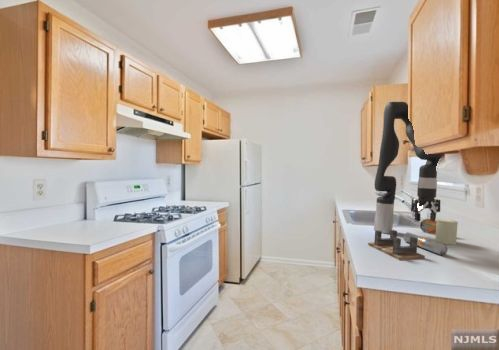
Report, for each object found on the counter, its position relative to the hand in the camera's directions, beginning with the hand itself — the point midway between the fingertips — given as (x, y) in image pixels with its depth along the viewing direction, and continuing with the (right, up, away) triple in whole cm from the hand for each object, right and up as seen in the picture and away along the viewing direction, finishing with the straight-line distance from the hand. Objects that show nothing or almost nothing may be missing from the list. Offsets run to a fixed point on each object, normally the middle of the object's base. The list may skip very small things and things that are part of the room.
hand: (425, 220), depth 127 cm
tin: (+25, -13, +29) cm, 40 cm away
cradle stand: (-17, -13, -5) cm, 22 cm away
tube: (0, -13, +1) cm, 13 cm away
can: (+20, -14, +13) cm, 27 cm away
